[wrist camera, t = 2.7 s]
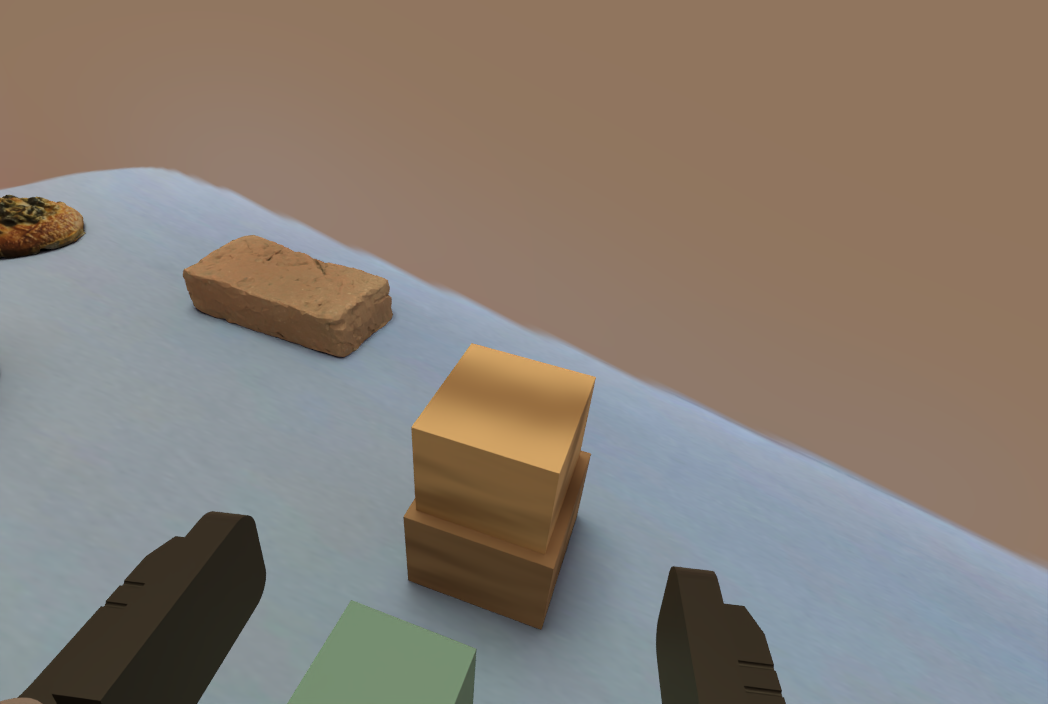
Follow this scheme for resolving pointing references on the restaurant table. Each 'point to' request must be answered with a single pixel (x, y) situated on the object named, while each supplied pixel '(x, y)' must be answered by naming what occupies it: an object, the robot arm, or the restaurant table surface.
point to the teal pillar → (387, 664)
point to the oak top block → (501, 445)
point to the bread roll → (36, 225)
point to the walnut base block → (491, 560)
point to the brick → (290, 295)
